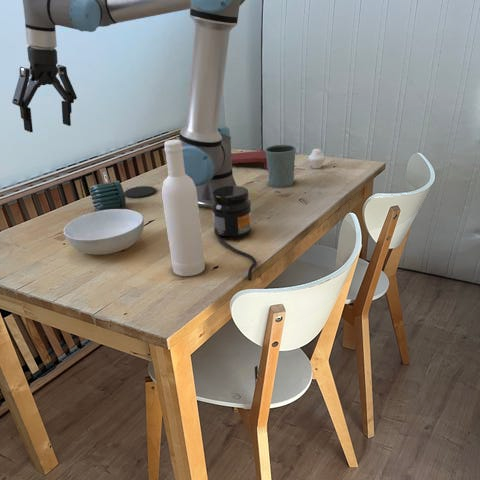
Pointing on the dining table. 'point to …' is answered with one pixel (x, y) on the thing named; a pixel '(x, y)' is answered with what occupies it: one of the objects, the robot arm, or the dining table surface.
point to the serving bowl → (104, 231)
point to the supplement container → (231, 212)
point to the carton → (250, 157)
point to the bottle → (182, 214)
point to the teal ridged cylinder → (108, 196)
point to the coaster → (140, 192)
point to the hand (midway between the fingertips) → (48, 127)
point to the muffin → (316, 158)
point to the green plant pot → (280, 165)
